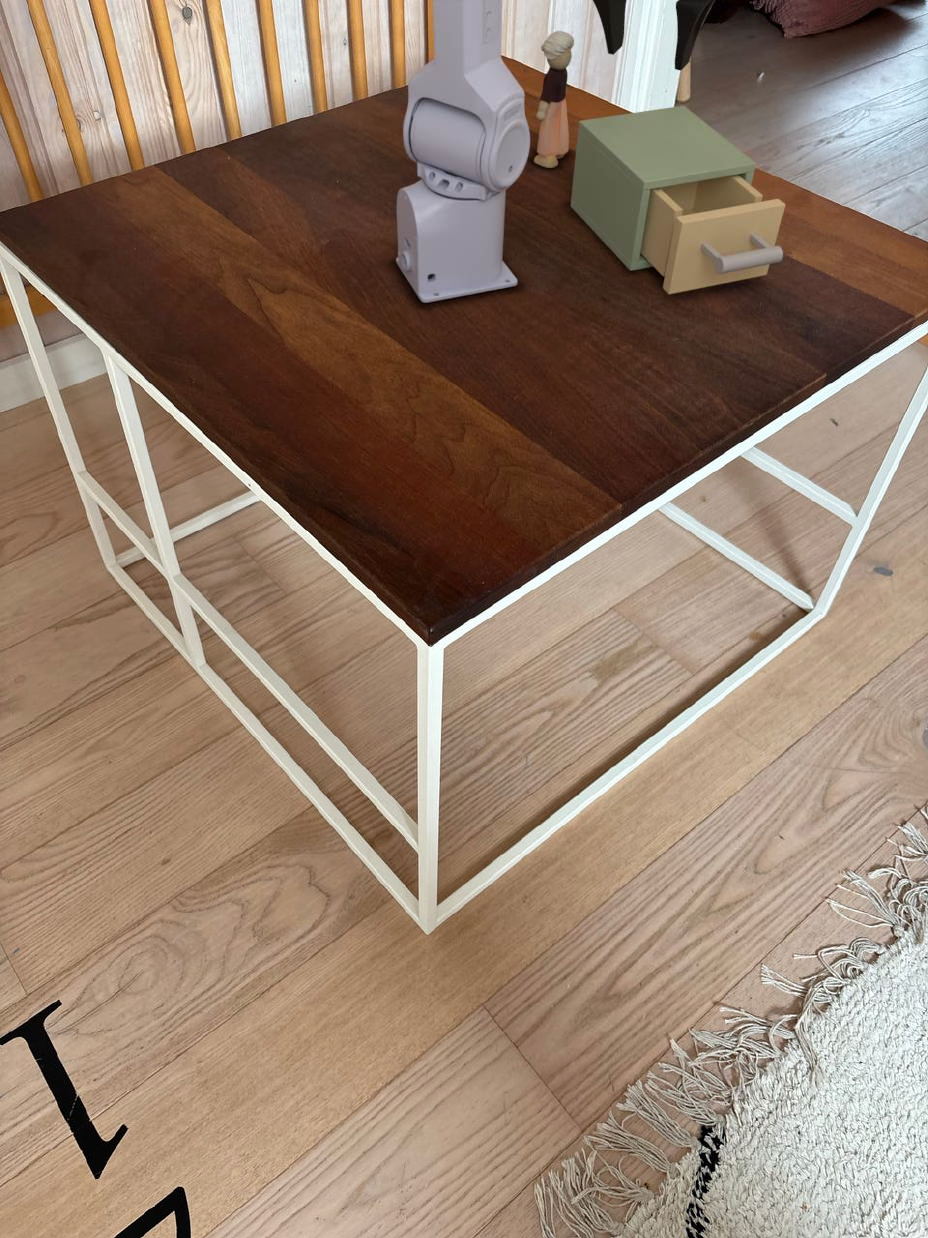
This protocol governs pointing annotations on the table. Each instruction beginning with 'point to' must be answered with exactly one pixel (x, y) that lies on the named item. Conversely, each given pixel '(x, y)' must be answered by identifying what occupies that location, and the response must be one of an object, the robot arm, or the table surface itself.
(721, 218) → the drawer
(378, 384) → the table surface
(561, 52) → the grandmother figurine
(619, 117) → the cabinet
